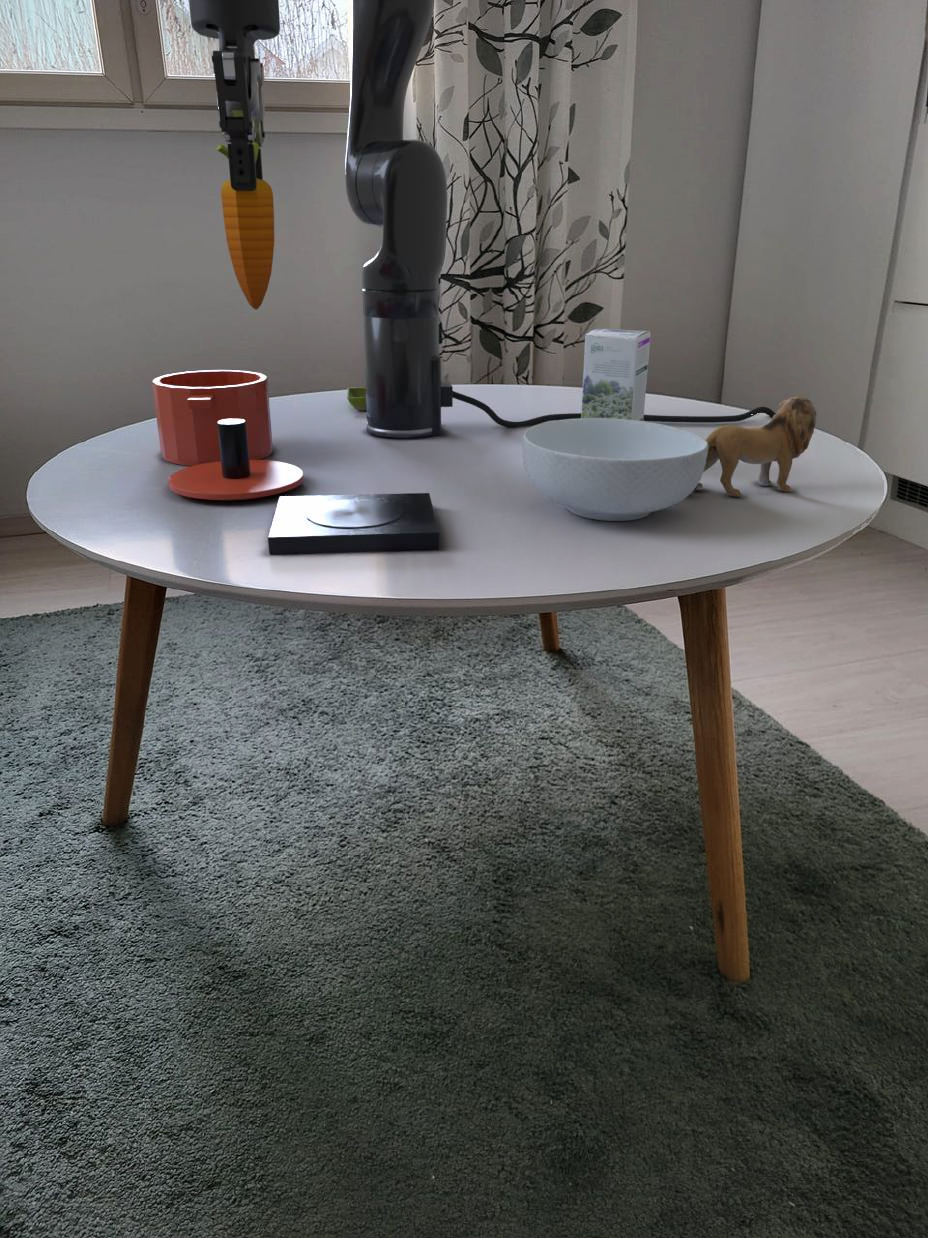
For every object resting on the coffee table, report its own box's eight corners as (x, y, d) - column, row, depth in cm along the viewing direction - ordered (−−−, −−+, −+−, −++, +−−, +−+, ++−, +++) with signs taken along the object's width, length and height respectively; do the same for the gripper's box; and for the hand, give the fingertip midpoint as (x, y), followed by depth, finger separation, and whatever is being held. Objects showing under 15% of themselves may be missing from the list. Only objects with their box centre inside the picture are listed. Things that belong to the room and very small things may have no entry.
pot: (278, 435, 117) (272, 365, 114) (265, 471, 101) (258, 391, 97) (177, 437, 116) (168, 367, 112) (147, 473, 100) (136, 393, 96)
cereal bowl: (575, 547, 78) (580, 464, 76) (491, 496, 92) (492, 424, 90) (738, 523, 85) (748, 446, 82) (636, 479, 99) (642, 412, 96)
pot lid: (307, 469, 102) (303, 407, 99) (300, 504, 90) (295, 434, 87) (181, 471, 101) (174, 409, 98) (157, 507, 88) (148, 437, 86)
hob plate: (429, 507, 89) (429, 491, 88) (439, 549, 78) (439, 531, 77) (280, 511, 87) (279, 495, 87) (269, 554, 76) (267, 536, 76)
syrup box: (641, 463, 105) (652, 329, 99) (627, 475, 100) (637, 335, 94) (593, 458, 107) (600, 326, 101) (576, 469, 102) (583, 332, 96)
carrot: (269, 312, 87) (257, 130, 81) (220, 310, 88) (204, 130, 82) (290, 307, 91) (279, 135, 85) (243, 306, 92) (229, 135, 86)
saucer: (347, 401, 138) (346, 386, 137) (406, 400, 139) (405, 386, 138) (347, 412, 130) (346, 397, 130) (409, 411, 131) (409, 396, 130)
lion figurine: (782, 475, 100) (795, 391, 97) (819, 488, 96) (834, 399, 92) (672, 491, 94) (680, 401, 91) (706, 505, 90) (716, 411, 86)
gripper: (267, -52, 72) (282, 190, 79) (284, -11, 85) (295, 193, 92) (168, -56, 72) (192, 188, 78) (200, -14, 85) (218, 192, 92)
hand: (247, 190), depth 85 cm, fingers closed on carrot, 4 cm apart
